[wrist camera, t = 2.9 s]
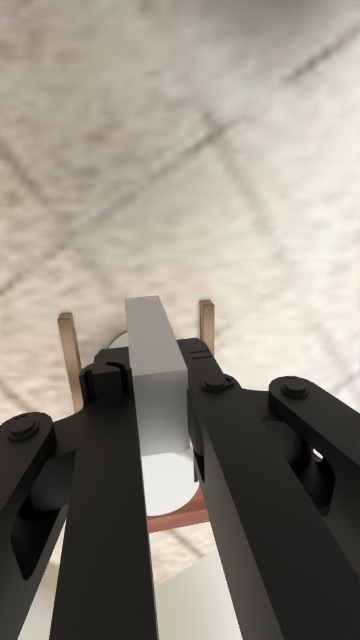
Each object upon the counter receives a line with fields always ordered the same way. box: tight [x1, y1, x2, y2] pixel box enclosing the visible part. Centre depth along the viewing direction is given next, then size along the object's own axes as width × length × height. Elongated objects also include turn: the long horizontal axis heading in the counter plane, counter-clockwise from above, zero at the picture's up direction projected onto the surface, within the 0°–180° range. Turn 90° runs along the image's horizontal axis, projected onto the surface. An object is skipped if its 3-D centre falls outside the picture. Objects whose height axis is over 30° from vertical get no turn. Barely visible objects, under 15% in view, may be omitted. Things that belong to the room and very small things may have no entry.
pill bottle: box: [108, 333, 199, 516], centre depth 27 cm, size 8×8×15 cm
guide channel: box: [58, 300, 214, 533], centre depth 33 cm, size 24×14×5 cm, turn 2°
